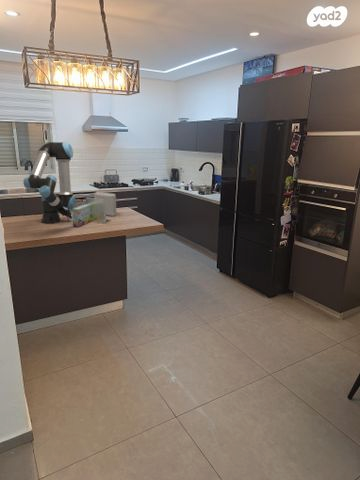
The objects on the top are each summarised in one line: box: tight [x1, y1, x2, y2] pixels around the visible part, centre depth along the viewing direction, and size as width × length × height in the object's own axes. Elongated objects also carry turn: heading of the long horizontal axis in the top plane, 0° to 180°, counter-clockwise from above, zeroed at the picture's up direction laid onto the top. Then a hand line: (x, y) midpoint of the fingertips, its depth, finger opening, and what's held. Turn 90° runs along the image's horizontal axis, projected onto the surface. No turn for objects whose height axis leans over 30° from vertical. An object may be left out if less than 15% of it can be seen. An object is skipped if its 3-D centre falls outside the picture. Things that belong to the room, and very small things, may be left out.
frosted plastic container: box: [85, 197, 111, 224], centre depth 281 cm, size 18×9×20 cm, turn 66°
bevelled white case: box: [93, 191, 117, 217], centre depth 303 cm, size 21×8×20 cm, turn 65°
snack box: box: [71, 203, 92, 228], centre depth 271 cm, size 21×6×15 cm, turn 167°
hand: (72, 220), depth 261 cm, fingers closed
